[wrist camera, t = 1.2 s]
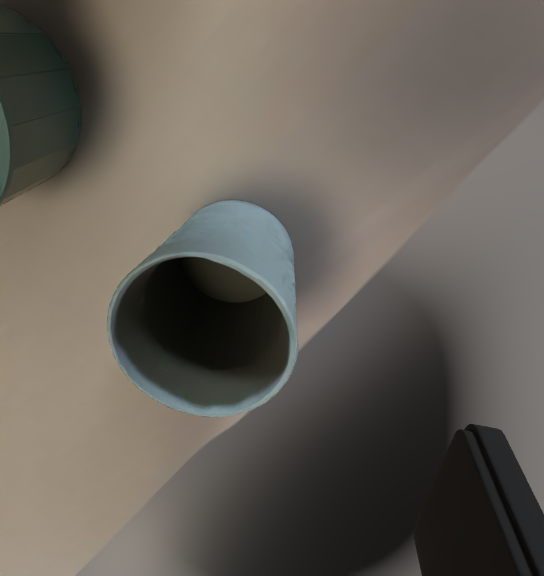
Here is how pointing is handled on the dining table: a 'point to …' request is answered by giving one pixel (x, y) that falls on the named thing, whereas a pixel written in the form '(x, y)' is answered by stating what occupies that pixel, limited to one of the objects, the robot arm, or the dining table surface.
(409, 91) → the dining table surface
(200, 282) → the light blue cup
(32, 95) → the pot
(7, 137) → the pot lid
